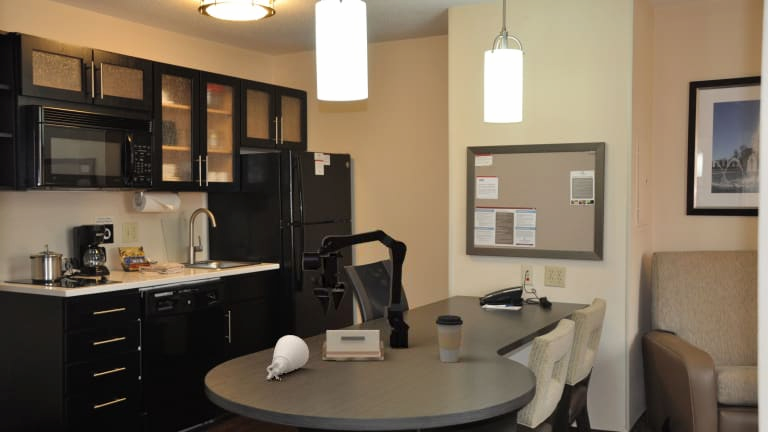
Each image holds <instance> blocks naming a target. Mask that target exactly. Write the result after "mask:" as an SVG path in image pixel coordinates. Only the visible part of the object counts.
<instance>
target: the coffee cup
mask: <svg viewBox="0 0 768 432" xmlns="http://www.w3.org/2000/svg"><path fill="white" fill-rule="evenodd" d="M435 324H436V325H437V338H438V339H437V340H438V348H439V357H440V361H441V362H443V363H456V362H459V354H460V347H461V340H462V332H463V331H462V326H463V324H464V321H463V319H462V317H461V316H459V315H452V314H451V315H446V314H445V315H439V316H437V319H436V320H435Z"/></svg>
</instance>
